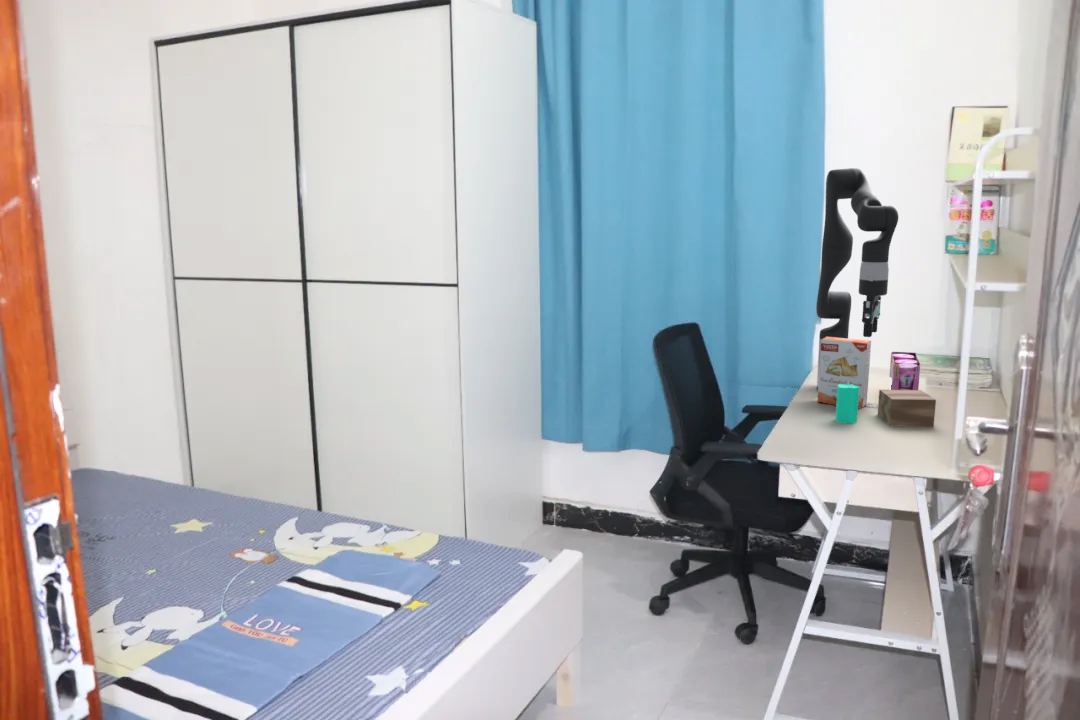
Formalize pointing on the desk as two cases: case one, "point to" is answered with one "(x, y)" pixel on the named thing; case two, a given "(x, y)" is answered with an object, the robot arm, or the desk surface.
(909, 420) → the walnut block
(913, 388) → the gum box
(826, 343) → the cracker box
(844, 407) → the candle
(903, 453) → the desk surface
